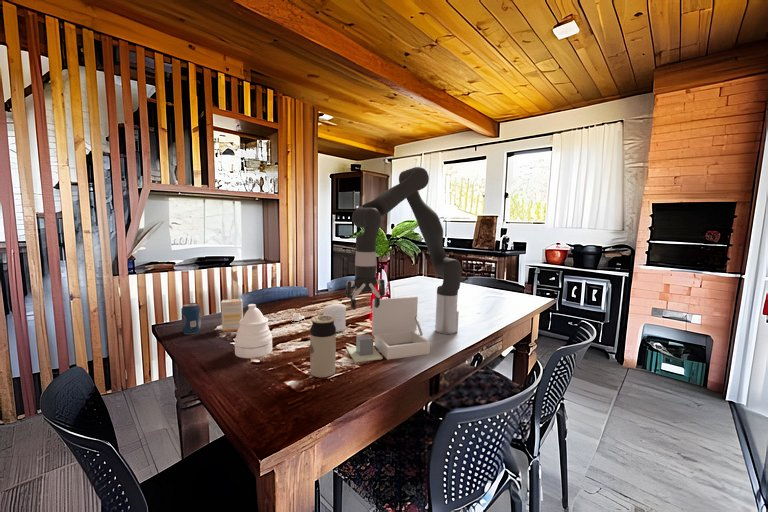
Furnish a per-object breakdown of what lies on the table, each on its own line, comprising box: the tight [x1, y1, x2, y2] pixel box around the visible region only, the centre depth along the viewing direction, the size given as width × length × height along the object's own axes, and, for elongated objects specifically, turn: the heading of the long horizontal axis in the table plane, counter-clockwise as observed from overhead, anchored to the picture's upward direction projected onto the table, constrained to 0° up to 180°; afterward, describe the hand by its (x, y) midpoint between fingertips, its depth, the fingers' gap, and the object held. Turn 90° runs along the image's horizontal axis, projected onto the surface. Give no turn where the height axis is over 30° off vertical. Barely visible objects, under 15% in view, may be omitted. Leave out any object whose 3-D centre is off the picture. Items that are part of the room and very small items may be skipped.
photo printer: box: [322, 303, 347, 333], centre depth 145 cm, size 10×4×12 cm, turn 123°
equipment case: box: [371, 296, 431, 360], centre depth 126 cm, size 19×14×18 cm
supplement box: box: [220, 298, 244, 332], centre depth 144 cm, size 8×5×13 cm, turn 108°
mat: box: [346, 346, 383, 363], centre depth 122 cm, size 10×12×1 cm
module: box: [355, 333, 374, 356], centre depth 121 cm, size 5×5×6 cm
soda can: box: [181, 302, 202, 335], centre depth 140 cm, size 7×7×12 cm
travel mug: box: [309, 314, 337, 378], centre depth 105 cm, size 8×8×18 cm
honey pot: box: [234, 303, 273, 359], centre depth 121 cm, size 13×13×18 cm
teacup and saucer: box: [291, 312, 305, 322], centre depth 159 cm, size 9×8×4 cm
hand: (365, 308), depth 120 cm, fingers open, 8 cm apart
